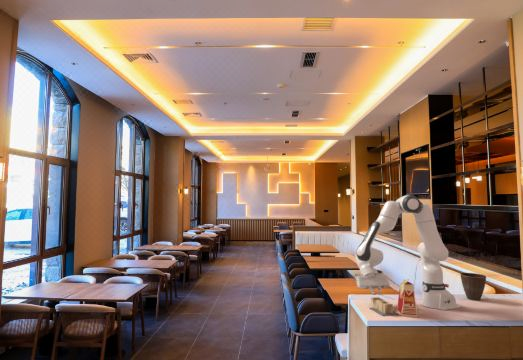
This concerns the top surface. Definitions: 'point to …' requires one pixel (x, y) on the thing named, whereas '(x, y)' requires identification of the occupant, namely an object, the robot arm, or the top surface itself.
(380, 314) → the mat
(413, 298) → the red figurine
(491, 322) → the top surface
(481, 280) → the plant pot
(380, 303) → the block
